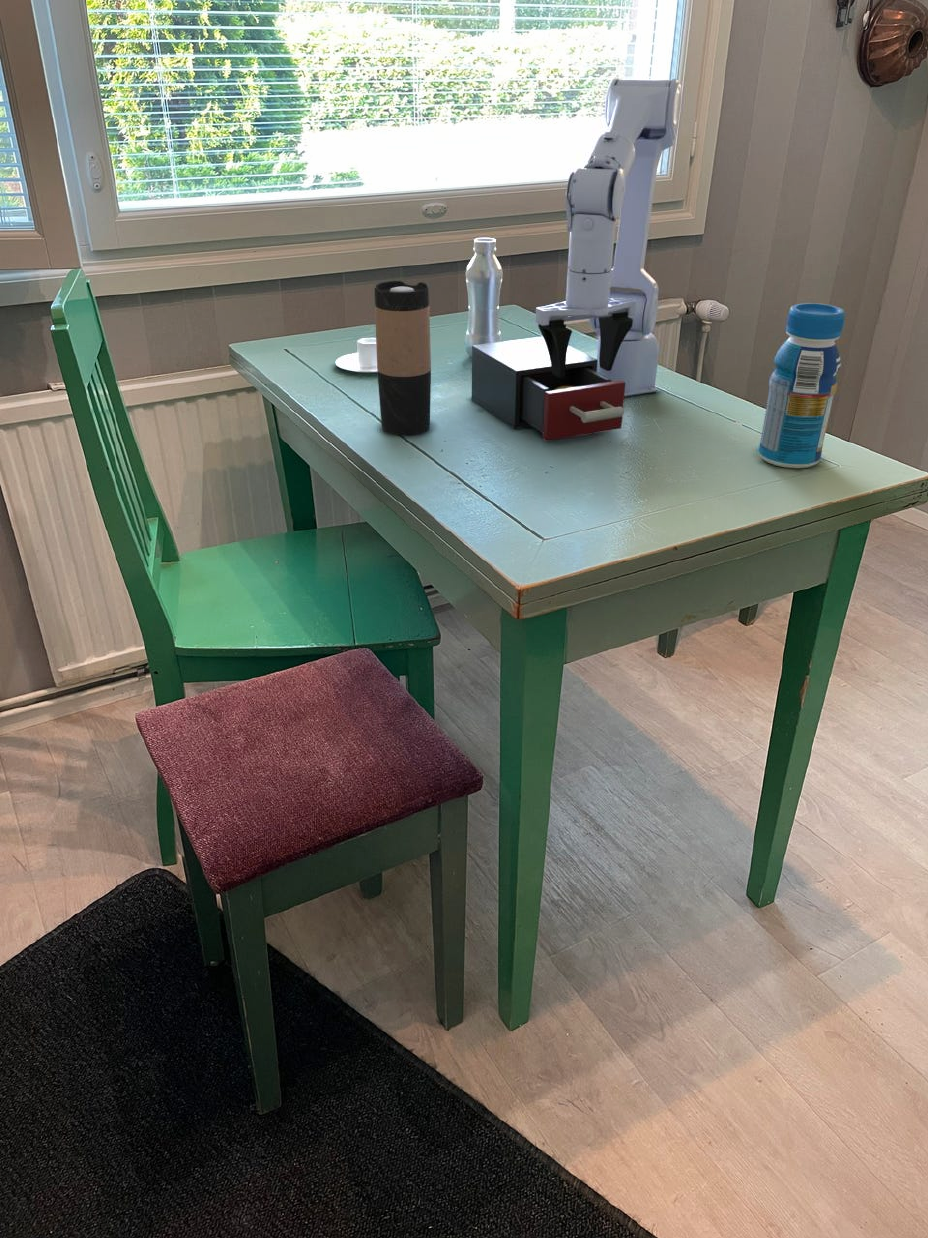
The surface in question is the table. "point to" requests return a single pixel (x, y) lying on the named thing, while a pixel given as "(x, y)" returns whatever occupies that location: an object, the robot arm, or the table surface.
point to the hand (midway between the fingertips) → (582, 372)
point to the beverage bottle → (802, 387)
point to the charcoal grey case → (513, 373)
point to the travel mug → (403, 356)
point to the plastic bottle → (483, 295)
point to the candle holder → (361, 357)
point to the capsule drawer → (571, 403)
